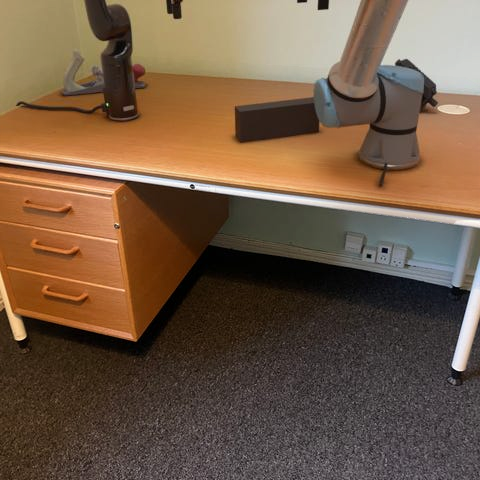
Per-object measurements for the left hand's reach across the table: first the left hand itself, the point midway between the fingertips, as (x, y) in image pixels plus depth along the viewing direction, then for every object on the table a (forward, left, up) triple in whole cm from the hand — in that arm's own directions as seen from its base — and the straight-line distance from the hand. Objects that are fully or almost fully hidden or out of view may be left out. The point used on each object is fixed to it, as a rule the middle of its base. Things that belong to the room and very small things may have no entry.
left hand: (174, 16), depth 146 cm
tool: (+57, +46, -32) cm, 80 cm away
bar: (+29, +6, -32) cm, 43 cm away
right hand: (+35, +13, +3) cm, 37 cm away
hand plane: (-48, +22, -32) cm, 62 cm away
